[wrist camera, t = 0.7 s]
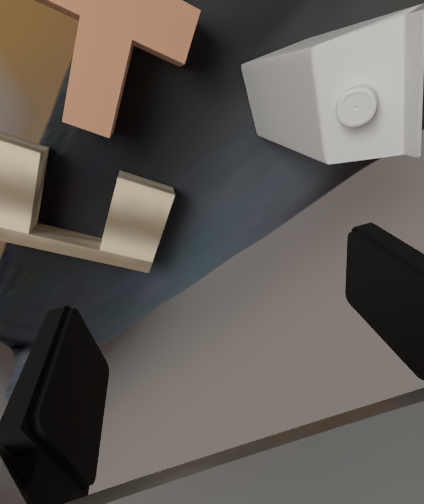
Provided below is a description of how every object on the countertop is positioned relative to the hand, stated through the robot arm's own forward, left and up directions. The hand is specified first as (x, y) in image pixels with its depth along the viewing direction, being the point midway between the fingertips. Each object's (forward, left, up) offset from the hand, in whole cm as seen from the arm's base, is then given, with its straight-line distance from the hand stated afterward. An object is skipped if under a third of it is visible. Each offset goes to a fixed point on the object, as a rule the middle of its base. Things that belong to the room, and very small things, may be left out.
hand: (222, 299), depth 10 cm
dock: (+8, -8, -26) cm, 29 cm away
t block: (-6, -8, -26) cm, 28 cm away
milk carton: (-10, +9, -27) cm, 30 cm away
